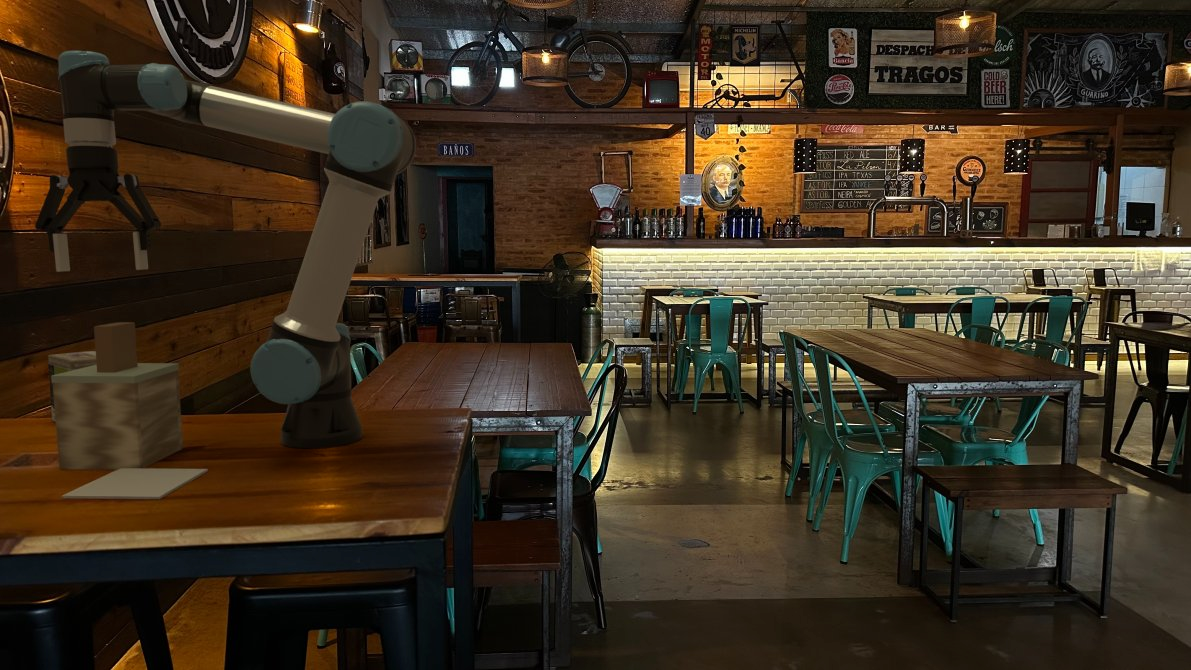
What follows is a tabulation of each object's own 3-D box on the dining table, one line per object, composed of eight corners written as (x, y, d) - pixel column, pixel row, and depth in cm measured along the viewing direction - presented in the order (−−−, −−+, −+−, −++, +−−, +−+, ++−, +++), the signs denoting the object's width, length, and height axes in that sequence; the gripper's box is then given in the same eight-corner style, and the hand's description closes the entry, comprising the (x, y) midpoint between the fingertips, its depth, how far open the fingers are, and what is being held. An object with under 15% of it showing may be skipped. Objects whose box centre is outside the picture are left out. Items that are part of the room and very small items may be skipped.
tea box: (127, 424, 175) (123, 355, 173) (74, 432, 167) (68, 360, 166) (102, 414, 185) (97, 348, 183) (50, 421, 177) (45, 353, 176)
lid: (179, 376, 153) (176, 320, 152) (134, 390, 139) (130, 329, 138) (104, 375, 153) (100, 320, 152) (52, 389, 139) (47, 328, 138)
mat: (207, 471, 140) (207, 468, 140) (159, 499, 125) (159, 496, 125) (120, 470, 140) (120, 468, 140) (61, 498, 125) (61, 495, 125)
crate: (182, 448, 154) (178, 369, 153) (140, 469, 141) (134, 383, 139) (109, 448, 155) (103, 369, 153) (59, 469, 141) (52, 382, 139)
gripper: (175, 147, 145) (185, 267, 148) (31, 150, 145) (44, 271, 147) (153, 142, 138) (164, 269, 141) (2, 145, 137) (16, 272, 140)
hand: (102, 270), depth 144 cm, fingers open, 13 cm apart
